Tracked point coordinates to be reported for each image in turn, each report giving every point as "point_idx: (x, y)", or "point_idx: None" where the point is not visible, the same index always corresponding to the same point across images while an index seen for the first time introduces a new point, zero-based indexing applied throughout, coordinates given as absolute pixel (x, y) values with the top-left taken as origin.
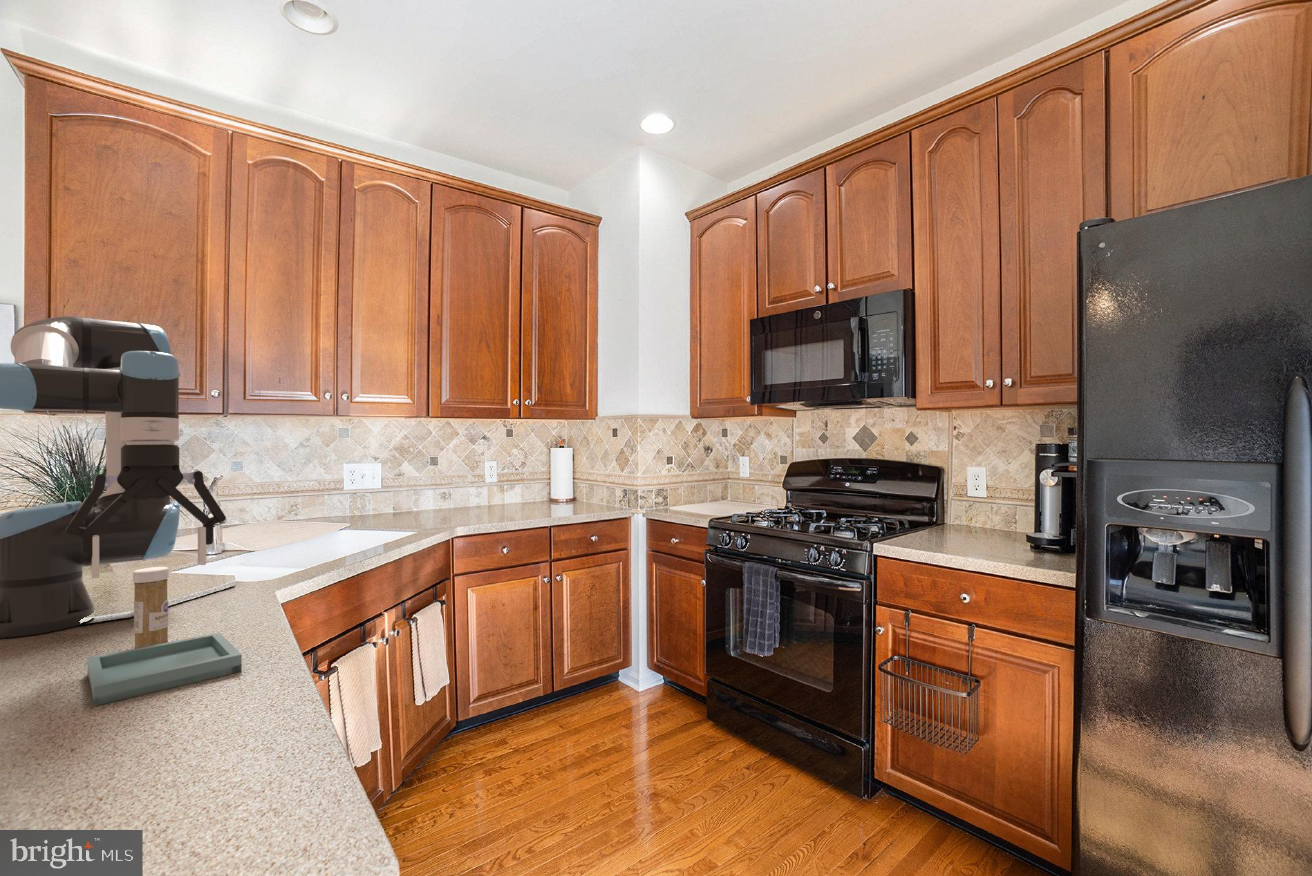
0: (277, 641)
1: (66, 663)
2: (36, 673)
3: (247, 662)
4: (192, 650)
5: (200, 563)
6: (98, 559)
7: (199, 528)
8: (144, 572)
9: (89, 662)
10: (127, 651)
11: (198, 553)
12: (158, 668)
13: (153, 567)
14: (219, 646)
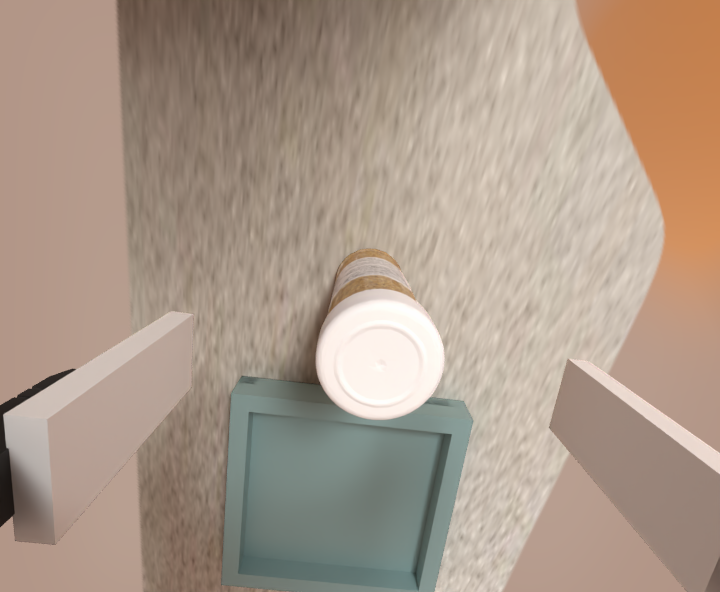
0: (551, 456)
1: (218, 237)
2: (167, 269)
3: (452, 536)
4: (406, 430)
5: (553, 429)
6: (146, 434)
7: (705, 562)
8: (344, 410)
9: (230, 431)
10: (297, 411)
11: (593, 401)
12: (329, 496)
13: (399, 331)
14: (435, 502)
